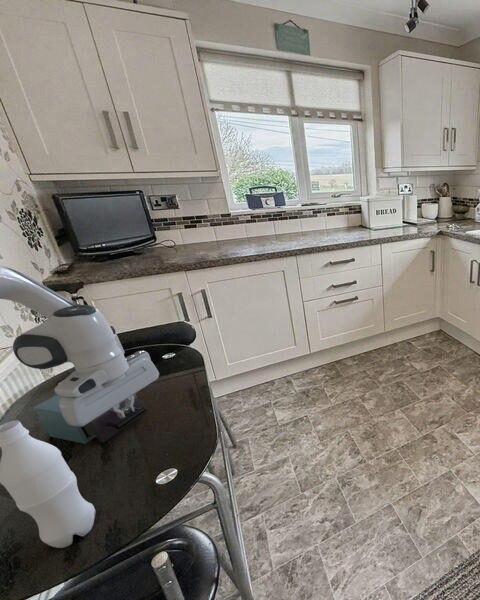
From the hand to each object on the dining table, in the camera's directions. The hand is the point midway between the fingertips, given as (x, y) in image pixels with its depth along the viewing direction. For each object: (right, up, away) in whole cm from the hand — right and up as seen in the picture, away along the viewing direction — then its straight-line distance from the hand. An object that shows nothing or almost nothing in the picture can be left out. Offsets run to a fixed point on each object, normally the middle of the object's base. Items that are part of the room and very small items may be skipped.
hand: (127, 414), depth 84 cm
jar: (-42, +7, +43) cm, 61 cm away
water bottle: (+10, -14, -23) cm, 29 cm away
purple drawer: (-6, -4, +3) cm, 8 cm away
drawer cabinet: (-15, -5, +6) cm, 17 cm away
